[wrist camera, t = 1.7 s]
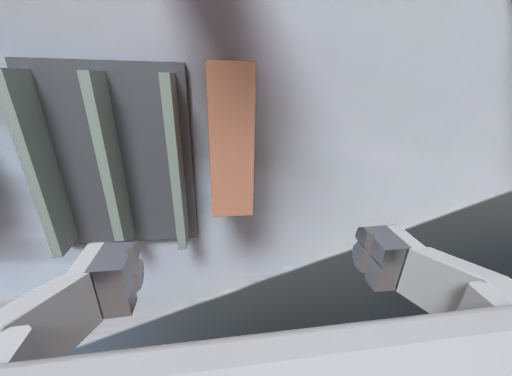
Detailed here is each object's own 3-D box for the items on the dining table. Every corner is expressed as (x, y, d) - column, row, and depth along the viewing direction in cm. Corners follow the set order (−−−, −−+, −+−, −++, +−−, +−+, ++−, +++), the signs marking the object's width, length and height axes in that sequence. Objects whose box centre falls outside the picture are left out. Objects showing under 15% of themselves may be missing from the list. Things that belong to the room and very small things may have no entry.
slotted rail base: (185, 63, 29) (179, 60, 24) (197, 232, 38) (195, 255, 33) (13, 57, 27) (-31, 54, 22) (68, 239, 35) (46, 265, 31)
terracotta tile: (243, 64, 30) (256, 61, 21) (243, 178, 36) (252, 215, 27) (208, 63, 30) (205, 59, 20) (213, 179, 35) (212, 216, 26)
